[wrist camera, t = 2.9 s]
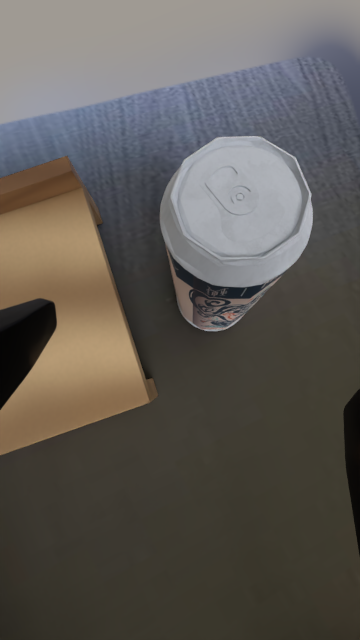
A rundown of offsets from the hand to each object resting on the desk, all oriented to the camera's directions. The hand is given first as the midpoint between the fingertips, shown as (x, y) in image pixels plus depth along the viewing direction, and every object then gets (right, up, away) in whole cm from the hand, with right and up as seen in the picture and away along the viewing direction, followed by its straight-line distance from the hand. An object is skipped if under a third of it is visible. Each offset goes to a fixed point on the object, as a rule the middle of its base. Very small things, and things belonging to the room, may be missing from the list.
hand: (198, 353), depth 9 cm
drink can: (+2, +2, +12) cm, 12 cm away
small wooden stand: (-9, +1, +12) cm, 15 cm away
